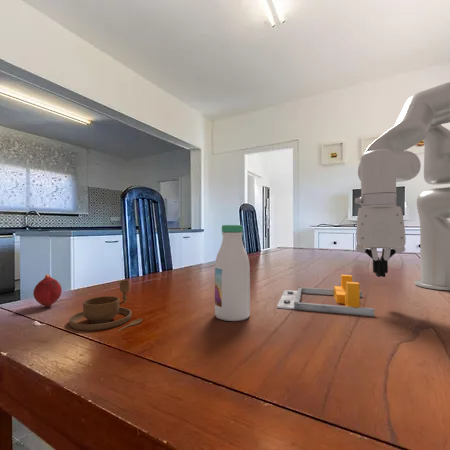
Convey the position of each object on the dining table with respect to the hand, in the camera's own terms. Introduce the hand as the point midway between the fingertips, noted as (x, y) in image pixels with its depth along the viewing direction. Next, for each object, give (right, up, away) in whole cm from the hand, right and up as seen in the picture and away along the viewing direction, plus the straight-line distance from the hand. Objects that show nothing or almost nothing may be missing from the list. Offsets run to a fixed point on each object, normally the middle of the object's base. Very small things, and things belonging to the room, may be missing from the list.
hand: (380, 275), depth 69 cm
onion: (-82, -8, -1) cm, 82 cm away
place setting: (-63, -8, -7) cm, 64 cm away
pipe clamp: (-8, -8, +2) cm, 11 cm away
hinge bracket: (-13, -7, +3) cm, 15 cm away
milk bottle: (-37, -8, -8) cm, 38 cm away
